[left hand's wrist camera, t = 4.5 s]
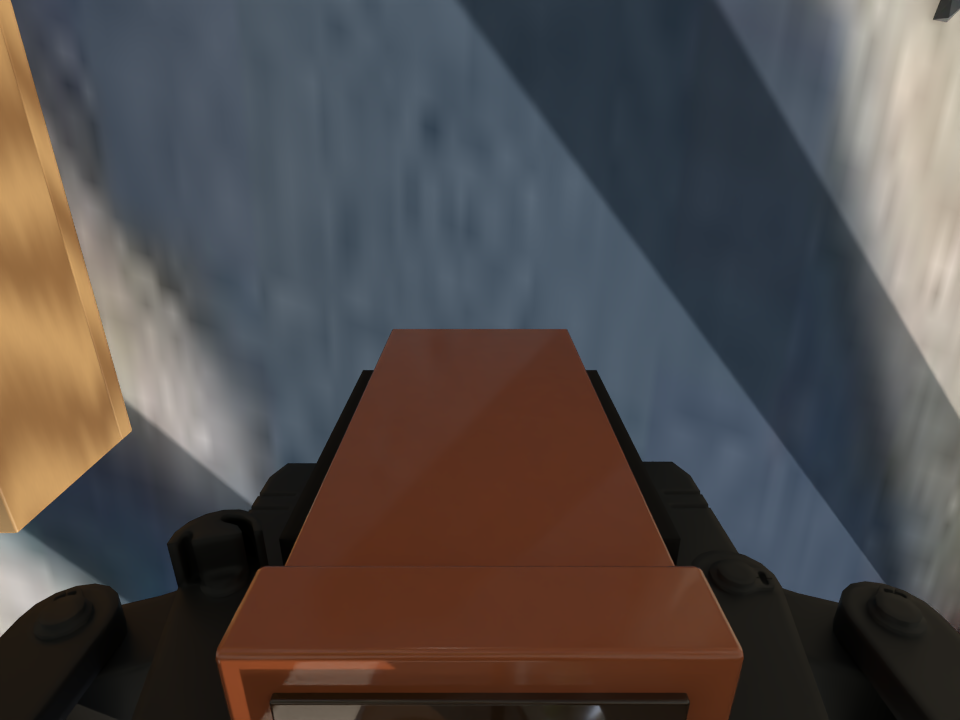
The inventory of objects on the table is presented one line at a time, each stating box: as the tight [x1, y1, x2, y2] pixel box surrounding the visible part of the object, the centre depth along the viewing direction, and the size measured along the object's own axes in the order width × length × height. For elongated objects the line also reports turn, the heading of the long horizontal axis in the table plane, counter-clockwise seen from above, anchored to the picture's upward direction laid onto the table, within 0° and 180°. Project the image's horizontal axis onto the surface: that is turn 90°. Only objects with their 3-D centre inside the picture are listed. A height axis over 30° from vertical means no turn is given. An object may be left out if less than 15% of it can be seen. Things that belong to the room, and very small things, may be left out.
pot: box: [216, 329, 744, 720], centre depth 11 cm, size 5×5×10 cm
